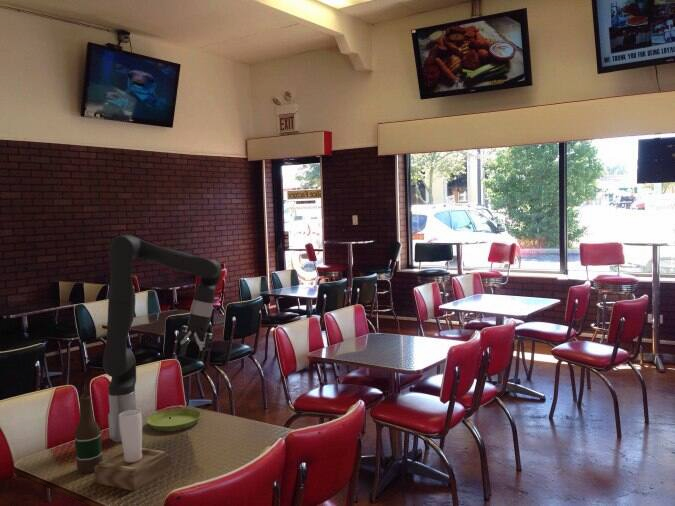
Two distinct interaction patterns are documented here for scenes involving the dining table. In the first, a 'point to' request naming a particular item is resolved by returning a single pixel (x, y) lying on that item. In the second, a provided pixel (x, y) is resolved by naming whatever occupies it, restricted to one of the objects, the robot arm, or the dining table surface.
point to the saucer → (174, 419)
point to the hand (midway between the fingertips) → (191, 358)
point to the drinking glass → (131, 435)
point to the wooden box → (132, 469)
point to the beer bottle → (87, 439)
